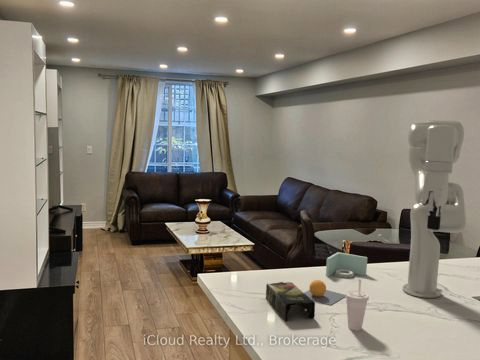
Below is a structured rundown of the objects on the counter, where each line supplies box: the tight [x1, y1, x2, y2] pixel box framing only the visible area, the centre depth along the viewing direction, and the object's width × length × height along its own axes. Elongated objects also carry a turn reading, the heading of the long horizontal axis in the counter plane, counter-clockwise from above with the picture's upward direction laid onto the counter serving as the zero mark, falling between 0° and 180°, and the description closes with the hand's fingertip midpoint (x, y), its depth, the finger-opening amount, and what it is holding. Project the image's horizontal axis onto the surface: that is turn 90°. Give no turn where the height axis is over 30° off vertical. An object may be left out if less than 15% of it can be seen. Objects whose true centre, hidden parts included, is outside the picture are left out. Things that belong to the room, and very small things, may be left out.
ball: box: [308, 279, 327, 297], centre depth 156 cm, size 6×6×6 cm
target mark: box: [303, 289, 346, 306], centre depth 157 cm, size 12×12×1 cm
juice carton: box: [265, 281, 316, 322], centre depth 145 cm, size 20×10×6 cm, turn 15°
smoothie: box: [344, 279, 370, 332], centre depth 131 cm, size 6×6×14 cm
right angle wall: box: [325, 251, 368, 279], centre depth 181 cm, size 12×12×8 cm
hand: (433, 228), depth 139 cm, fingers closed
